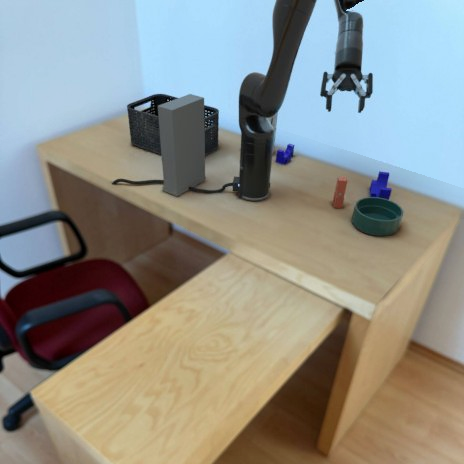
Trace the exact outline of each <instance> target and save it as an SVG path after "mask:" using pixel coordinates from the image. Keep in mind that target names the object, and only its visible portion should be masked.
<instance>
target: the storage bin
mask: <svg viewBox="0 0 464 464" xmlns="http://www.w3.org/2000/svg"><path fill="white" fill-rule="evenodd" d="M178 98H179V97H177V96H174V95H169V94H166V93H154V94H152V95H149V96H146V97H144V98H141V99H138V100H136V101H133V102H130V103H128V104H126V111H127V118H128V126H129V136H130V144H131V145H133V146H134V147H137V148H140V149H144V150H146V151H149V152H153V153H155V154H158V155H160V156H162V154H161V142H160V130H159V118H158V106H159V105H161V104H164V103H167V102H169V101H172V100H175V99H178ZM148 103H150V106H149V107H146V108H144V109H142V110H138V109H135V108H137V107H140V106H143V105H146V104H148ZM219 113H220V110H219V108H217V107H213V106H209V105H207V104H204V124H205V157H206V156H208V155H209V154H211V153H212V152H214V151H217V150H218V149H219V130H220V129H219V126H220V122H219V119H220V117H219V115H220V114H219Z"/></svg>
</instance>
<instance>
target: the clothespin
mask: <svg viewBox="0 0 464 464" xmlns="http://www.w3.org/2000/svg"><path fill="white" fill-rule="evenodd" d="M336 180H337V181H336V184H335V185H336V186H335V190H334V192H333V197H332V205H333V208H334V209H343V207H344V202H345V195H346V192H347V191H346V190H347V186H348V182H349V181H348V178H347V176H338V177H337V179H336Z"/></svg>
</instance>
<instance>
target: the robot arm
mask: <svg viewBox="0 0 464 464" xmlns="http://www.w3.org/2000/svg"><path fill="white" fill-rule="evenodd" d="M362 1H364V0H333V3H334V7H335V12H336V16H337V38H336V43H335V51H334V64H333V65H334V67H333V73H329V72H327V71H324V72H323V74H322V77H321V86H320V93H319V95H320V97H321V98H323V97H324V98H325V110H327V112H328V113H329V112H330V113H331V111H332V105H333V96H334V94H336V93H337V92H338V91H340V92H353V93H354V95H356V96H357V97H358V107H357V113H358V114H361V113H362V112H363V111H364V109H365V105H366V99H371V97H372V95H373V92H374V86H373V85H374V83H373V82H374V76H373V75H374V74H373V73H372V72H369V73H368V74H363V72H362V66H363V50H364V38H363V37H364V23H365V21H364V16H363V14H361V13H360V12H358V11H353V10H352V11H346V10H347V9H350V8H352V7H354V6H355V5H356V4H358V3H359V2H362ZM317 2H318V0H275V3H274V5H273V10H272V16H271V27H272V28H271V29H272V55H271V59H270V63H269V66H268V69H267V71H266V74H263V73H261V72H256V71H254V72H250V73H248V74H247V75H246V76H245V77H244V78H243V79H242V81H241V84H240V87H239V92H238V127H239V129H240V154H239V155H240V156H239V157H240V158H239V169H238V170H239V174H238V176H233V179H232V182H227V183H225V184H223V185H222V187H221V188H219V189H214V190H213V189H204V188H197V187H189V190H188V191H193V192H196V193H202V194H219V193H222V192H224V191H225V190H226V188H228V187H232V192H236V193H237V194H238V199H243V200H246V201H250V202H259V201H264V200H266V199H267V198H268V197H270V196H269V195H270V189H271V173H272V164H273V163H272V162H273V154H274V152H273V143H274V128H273V126H272V125H271V123H270V122H269V120H268V118H270V117H273V116H274V115H275V114H276V113H277V112H278V113H279V111H280V110H281V108H282V106H283V104H284V102H285V99H286V95H287V92H288V88H289V84H290V81H291V77H292V74H293V70H294V66H295V62H296V60H297V56H298V54H299V51H300V48H301V45H302V42H303V40H304V37H305V33H306V31H307V28H308V26H309V23H310V21H311V18H312V17H313V16H312V15H313V13H314V10H315V7H316V5H317ZM330 80H331V81H332V82H333V85H332V86H331V87H330V88H329V90H327V84H328V83H329V82H330ZM362 81H363V83H364V84H366V85H365V86H366V87H365V88H366V91H365V90H364V88H363V85H362V84H361V82H362ZM118 183H125V184H129V185H137V186H138V185H149V184H164V179H147V180H130V179H127V178H117V179H115V180H113V181H112V182H111V185H113V186H115V185H116V184H118Z"/></svg>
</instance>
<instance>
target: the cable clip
mask: <svg viewBox="0 0 464 464" xmlns="http://www.w3.org/2000/svg"><path fill="white" fill-rule="evenodd" d="M389 178H390V172H387V171H378V175H377V178H376V179H371V182H370V186H369V197H379V198H384V199H387V200H390V198H391V194H392V191H393V189H392V188H391V187H388V182H389Z"/></svg>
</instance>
